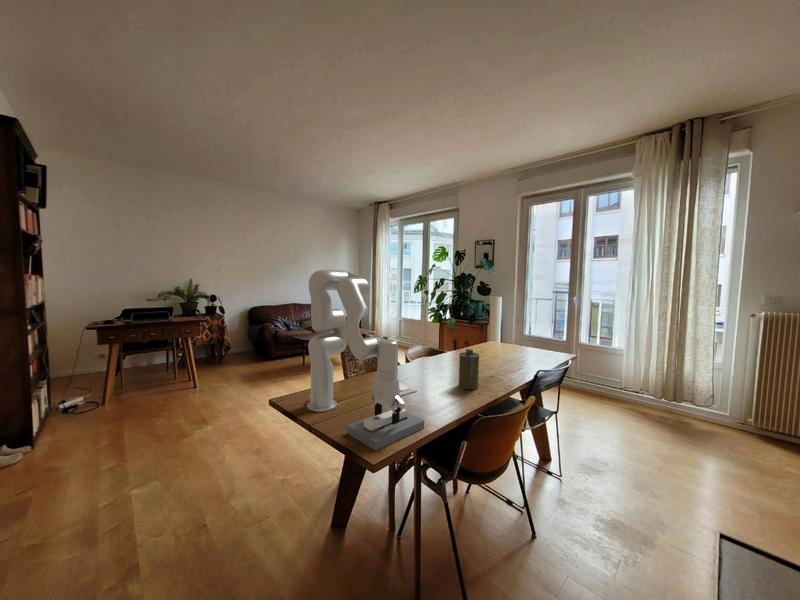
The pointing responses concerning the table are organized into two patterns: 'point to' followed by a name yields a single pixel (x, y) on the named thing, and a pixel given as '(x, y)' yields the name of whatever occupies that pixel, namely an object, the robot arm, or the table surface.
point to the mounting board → (385, 431)
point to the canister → (468, 370)
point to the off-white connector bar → (382, 420)
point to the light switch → (405, 389)
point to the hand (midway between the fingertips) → (386, 418)
